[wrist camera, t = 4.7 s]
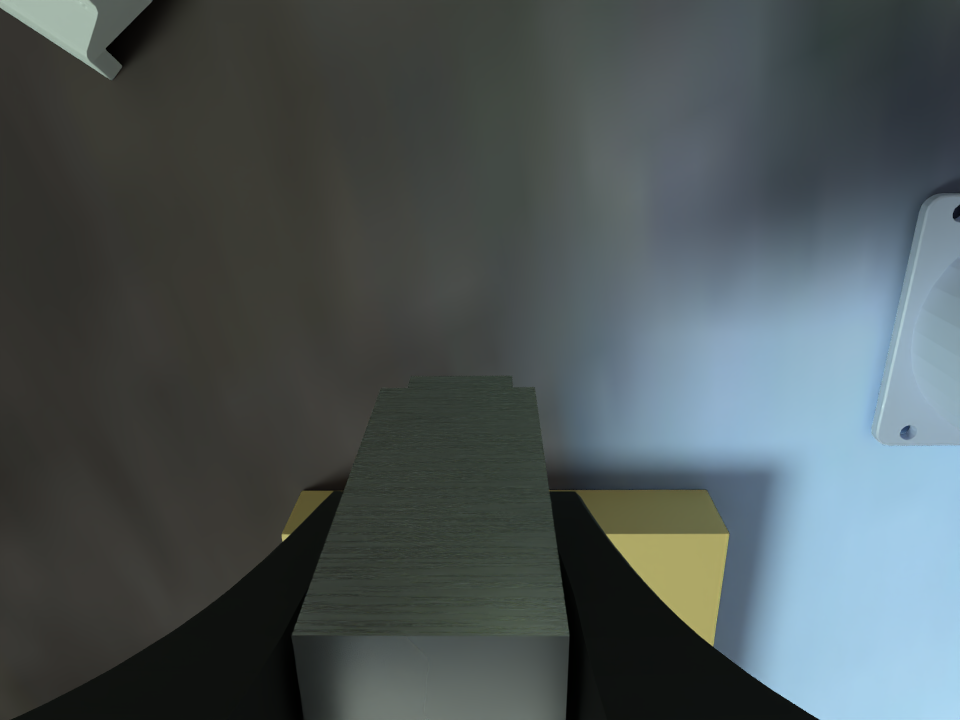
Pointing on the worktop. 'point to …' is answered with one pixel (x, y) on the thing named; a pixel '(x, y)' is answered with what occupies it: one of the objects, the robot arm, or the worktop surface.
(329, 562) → the grey rectangular block
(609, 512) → the bracket plate
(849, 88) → the worktop surface
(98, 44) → the pale green rounded block
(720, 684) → the robot arm
